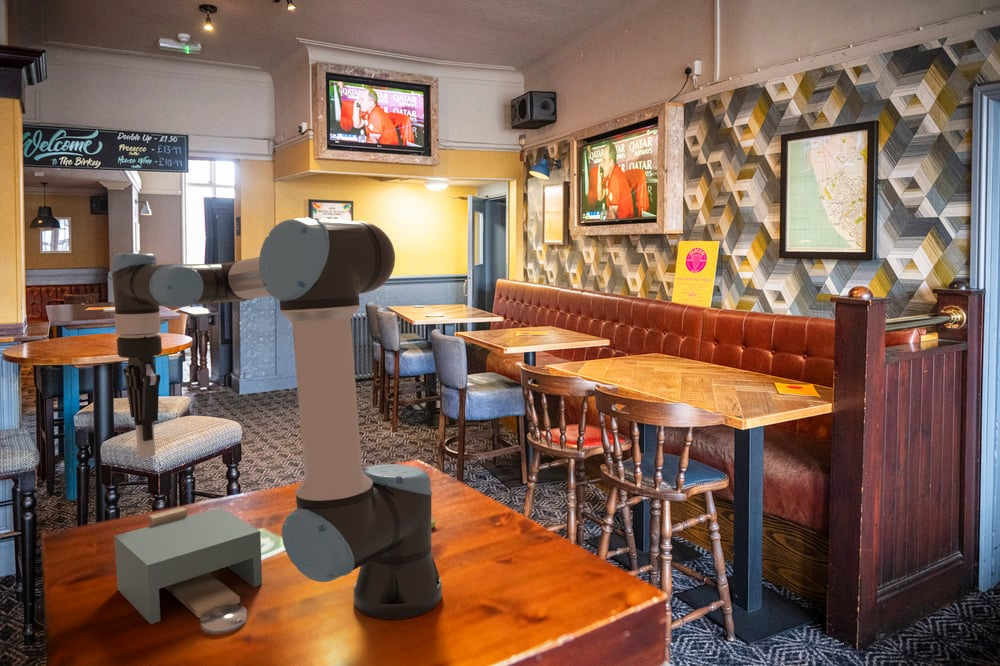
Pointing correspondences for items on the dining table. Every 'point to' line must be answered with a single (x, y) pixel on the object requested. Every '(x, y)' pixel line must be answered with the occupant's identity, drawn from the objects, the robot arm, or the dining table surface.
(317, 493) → the robot arm
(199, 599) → the paddle
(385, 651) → the dining table surface
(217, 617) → the token
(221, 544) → the bridge
